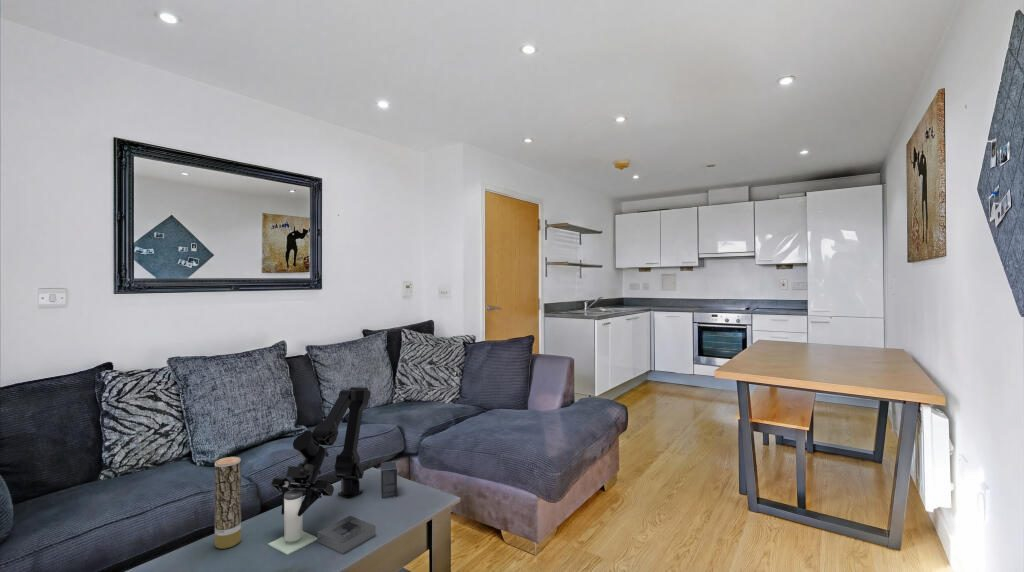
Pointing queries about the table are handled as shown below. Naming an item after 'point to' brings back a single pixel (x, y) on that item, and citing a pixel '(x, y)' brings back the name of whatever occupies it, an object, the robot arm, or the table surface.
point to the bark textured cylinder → (227, 502)
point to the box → (388, 479)
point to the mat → (292, 543)
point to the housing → (342, 544)
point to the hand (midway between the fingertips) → (290, 515)
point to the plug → (293, 515)
